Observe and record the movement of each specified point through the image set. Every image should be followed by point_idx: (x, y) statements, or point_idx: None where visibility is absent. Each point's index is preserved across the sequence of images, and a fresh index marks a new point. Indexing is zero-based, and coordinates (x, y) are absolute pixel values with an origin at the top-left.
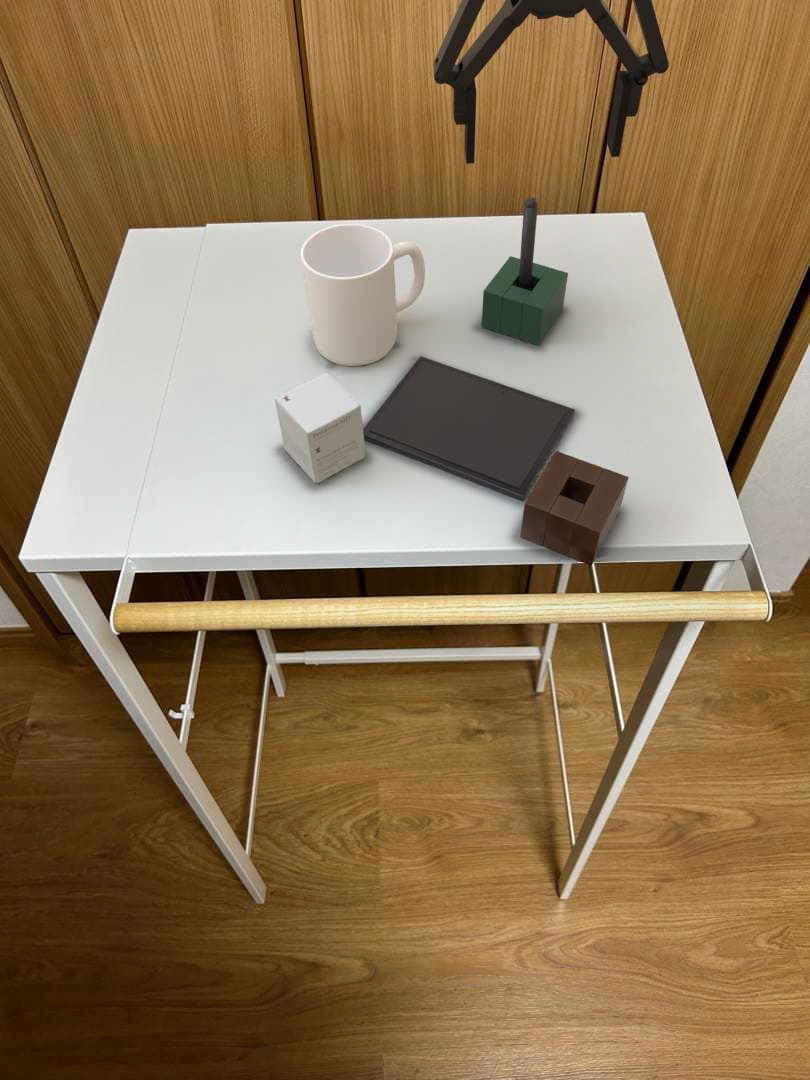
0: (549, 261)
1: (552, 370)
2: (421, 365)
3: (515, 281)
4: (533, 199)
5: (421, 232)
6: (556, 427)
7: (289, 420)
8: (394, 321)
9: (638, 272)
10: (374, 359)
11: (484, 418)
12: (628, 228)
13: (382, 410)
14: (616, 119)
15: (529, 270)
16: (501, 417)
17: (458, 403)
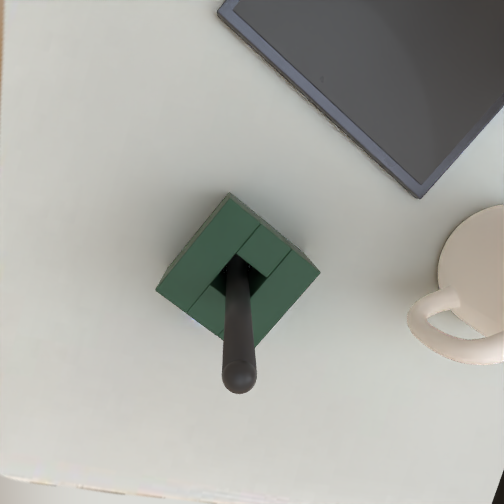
0: (156, 386)
1: (222, 129)
2: (426, 175)
3: (255, 290)
4: (235, 381)
5: (333, 485)
6: None
7: None
8: (472, 247)
9: (17, 334)
10: (489, 207)
11: (367, 25)
12: (6, 442)
13: None
14: None
15: (234, 289)
16: (340, 20)
17: (397, 72)
